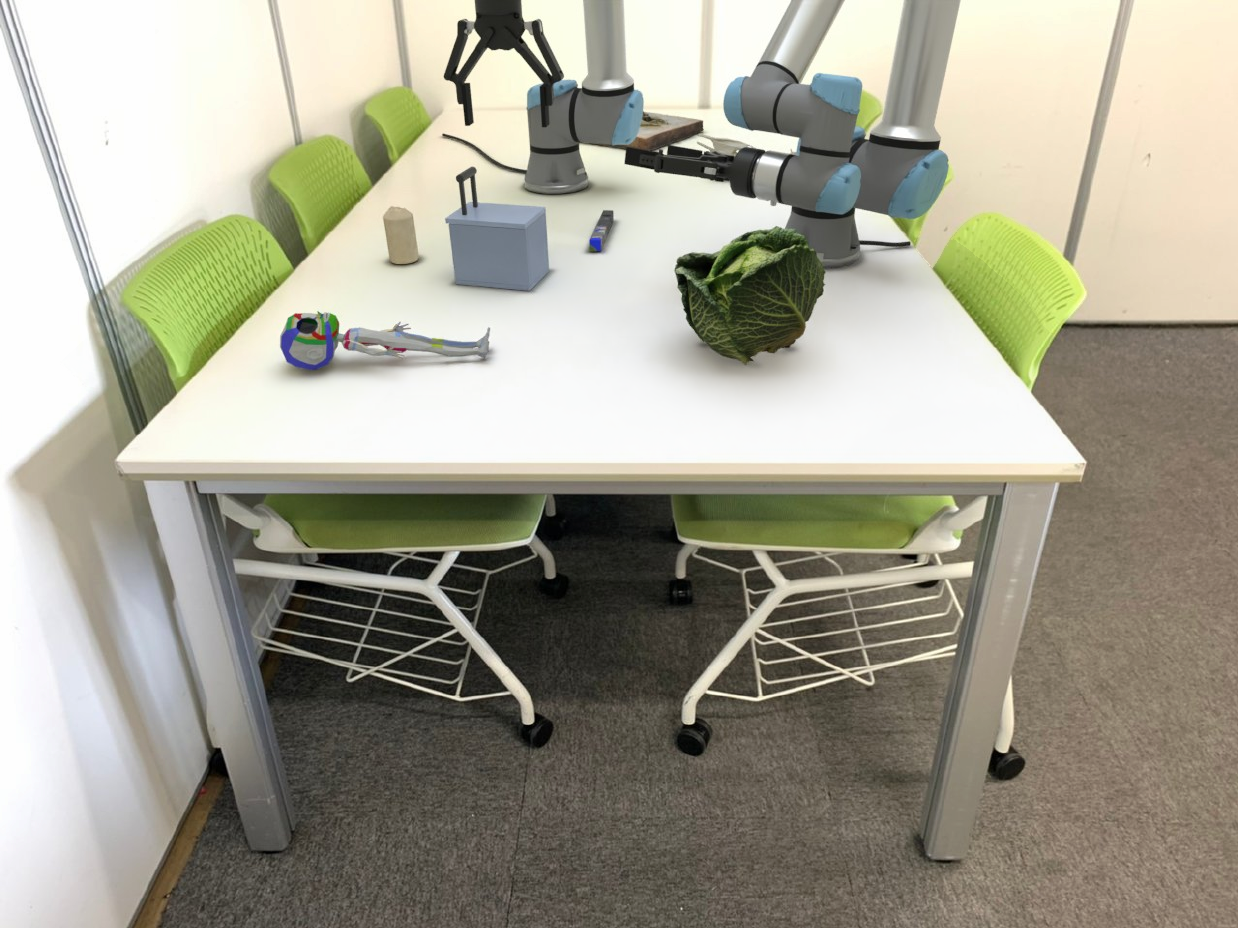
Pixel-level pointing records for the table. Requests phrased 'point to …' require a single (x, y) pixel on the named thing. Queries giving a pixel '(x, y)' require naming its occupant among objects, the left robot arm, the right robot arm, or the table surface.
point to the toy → (360, 341)
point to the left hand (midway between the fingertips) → (507, 125)
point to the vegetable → (751, 292)
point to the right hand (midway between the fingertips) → (647, 154)
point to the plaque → (662, 131)
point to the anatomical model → (726, 145)
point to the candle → (400, 235)
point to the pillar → (601, 230)
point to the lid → (490, 209)
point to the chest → (500, 255)
